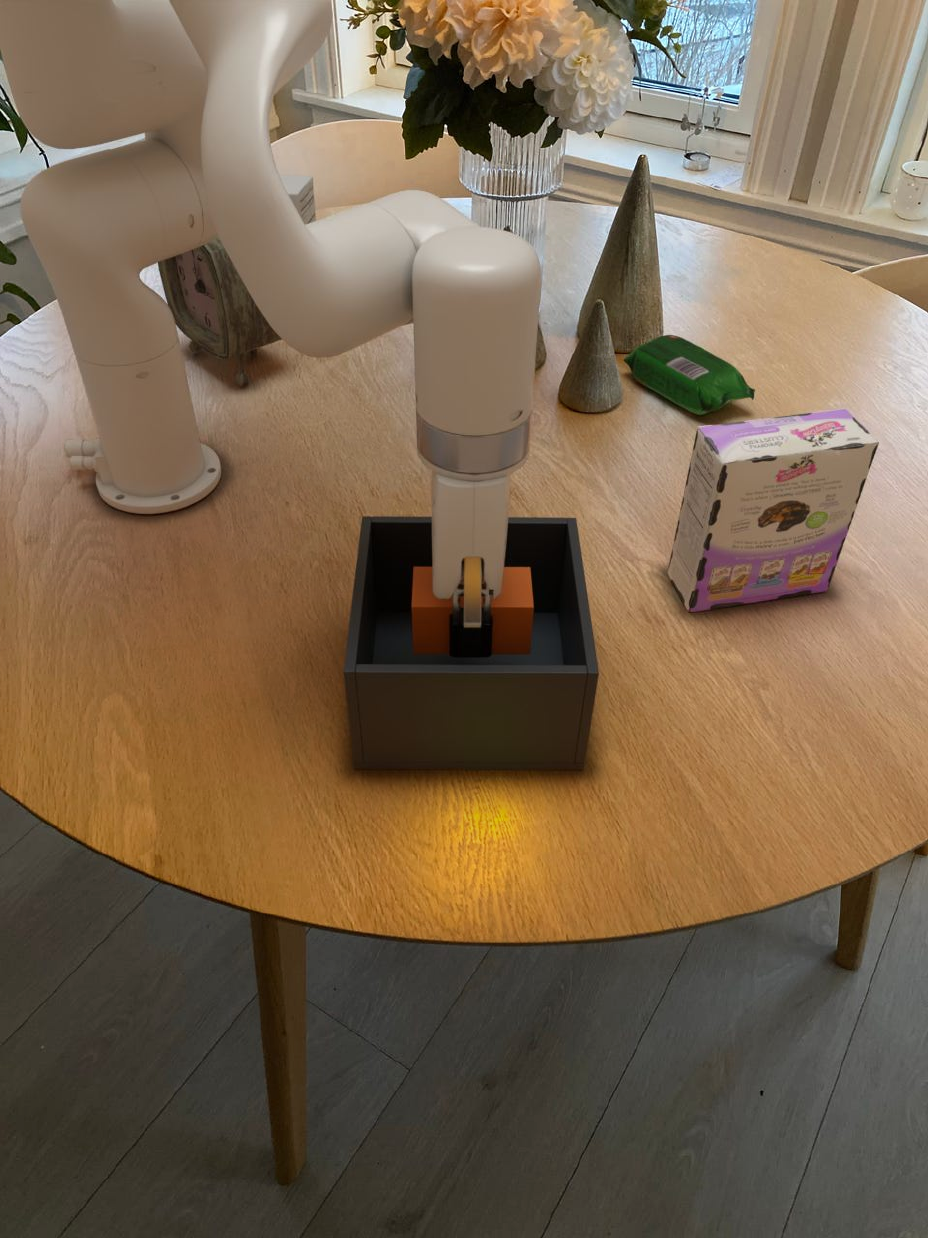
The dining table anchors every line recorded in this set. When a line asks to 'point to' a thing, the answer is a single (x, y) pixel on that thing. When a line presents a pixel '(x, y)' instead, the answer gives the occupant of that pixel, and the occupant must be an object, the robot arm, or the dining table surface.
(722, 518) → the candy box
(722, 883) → the dining table surface
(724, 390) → the snack package
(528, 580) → the orange rectangular block
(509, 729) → the open box bin
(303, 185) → the white packaging box
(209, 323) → the tabletop clock
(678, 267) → the dining table surface
